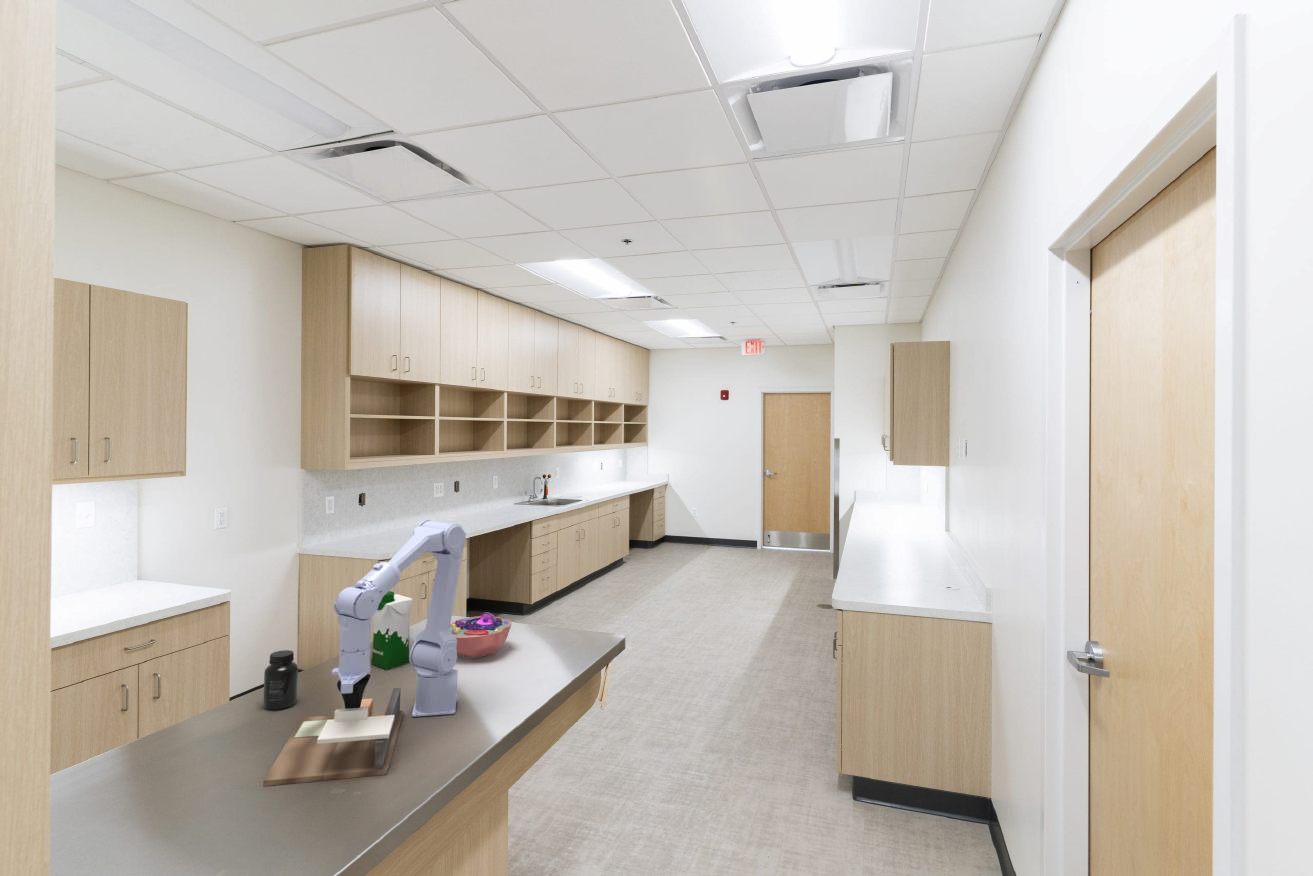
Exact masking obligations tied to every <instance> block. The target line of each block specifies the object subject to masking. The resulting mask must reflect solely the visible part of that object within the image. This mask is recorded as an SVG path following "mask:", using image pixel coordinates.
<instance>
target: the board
mask: <svg viewBox="0 0 1313 876" xmlns="http://www.w3.org/2000/svg"><path fill="white" fill-rule="evenodd" d="M401 689H402V687H394V688H393V689H392V692H391V695H390V698H389V700H388V701H389V702H388V704H387V707H386V709H385V711H376V712H373V711H372V717H373V716H387V715H395V716H394V722H393V725H392V728H391V732H390V735H389V738H383V739H371V740H359V741H346V742H334V743H322V744H317V739H318V737H319V735H320V733H321V731H322V729H323V728H324V726H325V724H326V722H327V720H332V719H334V717H335V714H332V715H320V716H319V715H317V716H306V717H305V716H304V717H301V718H300V719H299V722H298V723H297V725H296V726H295V728H294V729H293V732H292V733H291V735H290V736H289V738H288V740H287V741H286V743H285V745H284V746H283V748H282V749H281V752H280V753H279V755H278V756H277V758H276V760H275V761H274V763H273V765H272V766H271V768H270V769H269V771H268V773H267V774H266V776H265V778H264V779H263V783H262V785H263V787H267V786H278V785H289V784H300V783H309V782H323V781H331V780H342V779H354V778H363V777H372V776H373V777H374V776H375V777H376V776H383V775H387V774H388V771H389V767H390V763H391V760H392V756H393V753H394V749H395V746H396V741H397V738H398V735H399V732H400V728H401V723H402V720H403V716H404V710H403V709H402V710H401Z"/></svg>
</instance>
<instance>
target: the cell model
mask: <svg viewBox="0 0 1313 876" xmlns="http://www.w3.org/2000/svg"><path fill="white" fill-rule="evenodd" d="M512 624H513V623H512V621H511V620H510V619H506V618H501V617H497V616H495V615H494V614H492V613H490V612H489V611H488V612H487V611H486V612H482V613H481V614H480V615H479V616H471V617H467V618H465V617H464V618H460V619H458V620H457V619H456V620H455V621H453V622H451V623H450V628H449V630H450V632H451V633H452V634H453V636H454V637H455V638H456V639H457V646H456V650H457V655H459V656H461V657H466V658H471V659H477V658H480V657H485V656H489V655H492V654H494V653H497V652H498V651H499V650H500V649H501V648H502V646H503V644H505V642H506V640H507V639H508V636H509V633H510V630H511V629H512V628H511V627H512Z"/></svg>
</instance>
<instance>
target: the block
mask: <svg viewBox="0 0 1313 876" xmlns="http://www.w3.org/2000/svg"><path fill="white" fill-rule="evenodd" d="M373 702H374V699H373V698H362V702H361V706H360V708H363V707H368V717H372V713H373V709H374V708H373Z"/></svg>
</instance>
